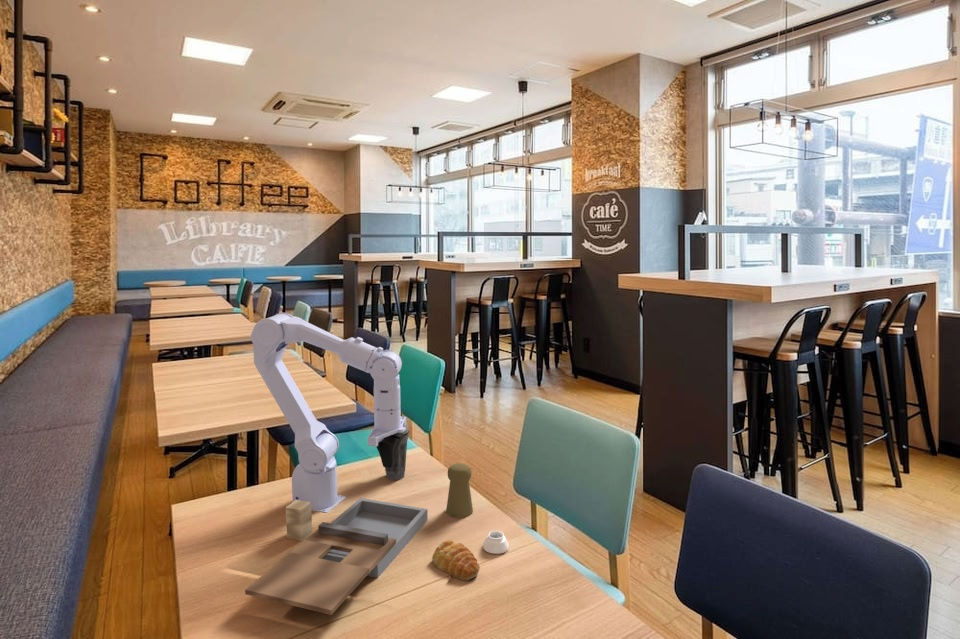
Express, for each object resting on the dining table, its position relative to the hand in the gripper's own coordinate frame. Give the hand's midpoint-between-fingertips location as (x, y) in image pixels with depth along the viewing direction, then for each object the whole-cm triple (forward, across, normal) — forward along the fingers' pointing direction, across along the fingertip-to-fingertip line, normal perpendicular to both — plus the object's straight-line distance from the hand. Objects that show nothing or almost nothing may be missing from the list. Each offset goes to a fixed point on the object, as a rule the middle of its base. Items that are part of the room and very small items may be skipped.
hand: (388, 466), depth 131 cm
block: (+9, -18, +11) cm, 23 cm away
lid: (+6, -30, -3) cm, 30 cm away
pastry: (+10, -17, -23) cm, 30 cm away
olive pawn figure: (+10, +2, -16) cm, 19 cm away
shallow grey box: (+9, -15, -3) cm, 18 cm away
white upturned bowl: (+10, -9, -28) cm, 31 cm away
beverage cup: (+10, +15, +6) cm, 19 cm away
